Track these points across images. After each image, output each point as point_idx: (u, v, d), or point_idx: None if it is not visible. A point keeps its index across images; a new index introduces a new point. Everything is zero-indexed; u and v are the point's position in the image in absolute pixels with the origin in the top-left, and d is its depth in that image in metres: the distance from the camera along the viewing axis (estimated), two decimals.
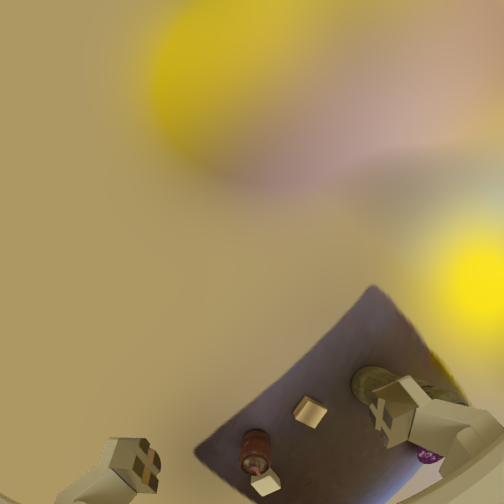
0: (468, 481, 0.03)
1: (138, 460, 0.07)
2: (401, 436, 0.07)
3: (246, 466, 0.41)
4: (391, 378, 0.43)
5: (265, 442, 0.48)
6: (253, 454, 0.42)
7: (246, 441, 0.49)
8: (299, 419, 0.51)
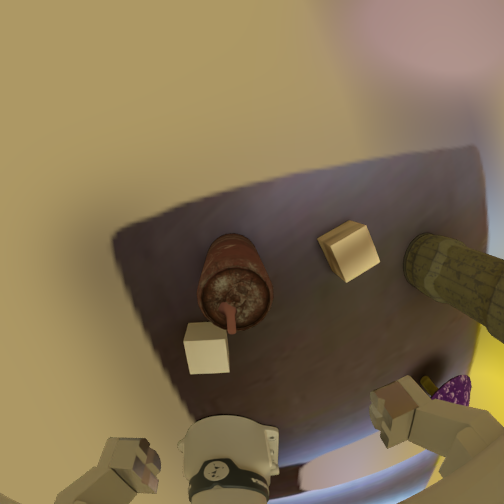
0: (468, 481, 0.03)
1: (138, 460, 0.07)
2: (401, 436, 0.07)
3: (214, 295, 0.21)
4: None
5: None
6: (248, 268, 0.21)
7: (227, 243, 0.28)
8: (335, 251, 0.31)
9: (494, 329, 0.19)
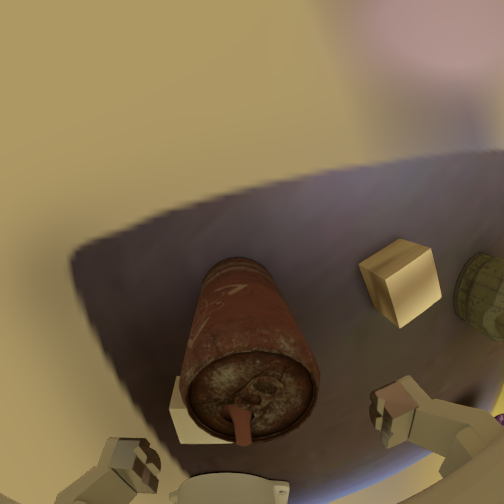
0: (468, 481, 0.03)
1: (138, 460, 0.07)
2: (401, 436, 0.07)
3: (211, 395, 0.10)
4: None
5: None
6: (280, 351, 0.10)
7: (233, 281, 0.16)
8: (391, 286, 0.20)
9: None
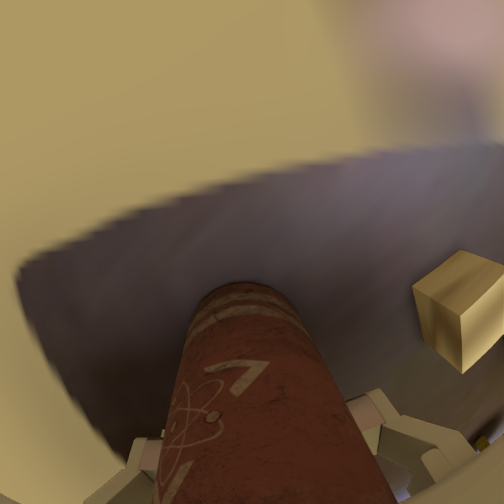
0: (468, 481, 0.03)
1: None
2: None
3: None
4: None
5: None
6: None
7: (240, 350, 0.08)
8: (464, 324, 0.11)
9: None
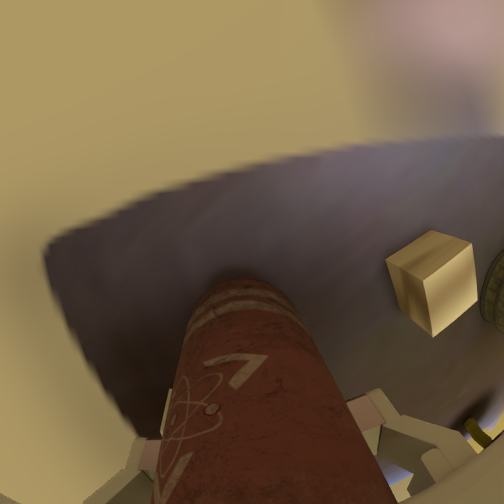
0: (468, 481, 0.03)
1: None
2: None
3: None
4: None
5: None
6: None
7: (239, 344, 0.08)
8: (428, 289, 0.15)
9: None
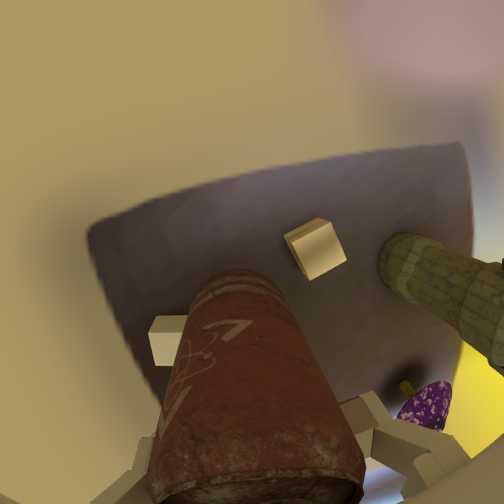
0: (468, 481, 0.03)
1: None
2: None
3: None
4: (482, 261, 0.22)
5: None
6: (315, 470, 0.04)
7: (231, 313, 0.11)
8: (297, 248, 0.31)
9: (466, 335, 0.19)
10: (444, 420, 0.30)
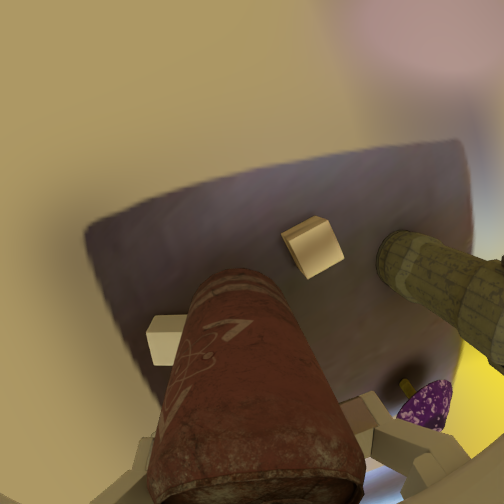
0: (468, 481, 0.03)
1: None
2: None
3: None
4: None
5: None
6: (315, 470, 0.04)
7: (231, 313, 0.11)
8: (294, 246, 0.31)
9: (465, 334, 0.19)
10: (444, 419, 0.30)
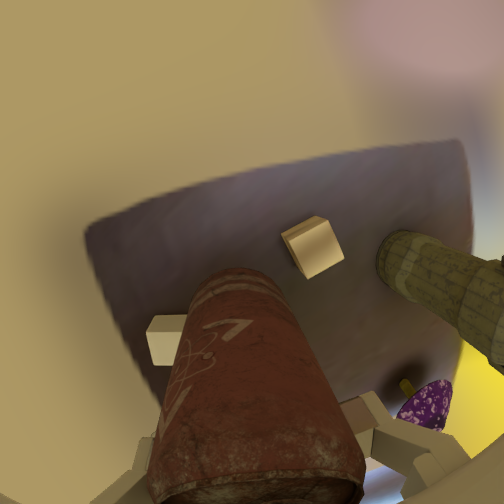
0: (468, 481, 0.03)
1: None
2: None
3: None
4: None
5: None
6: (315, 470, 0.04)
7: (231, 312, 0.11)
8: (294, 246, 0.31)
9: (465, 334, 0.19)
10: (444, 419, 0.30)
